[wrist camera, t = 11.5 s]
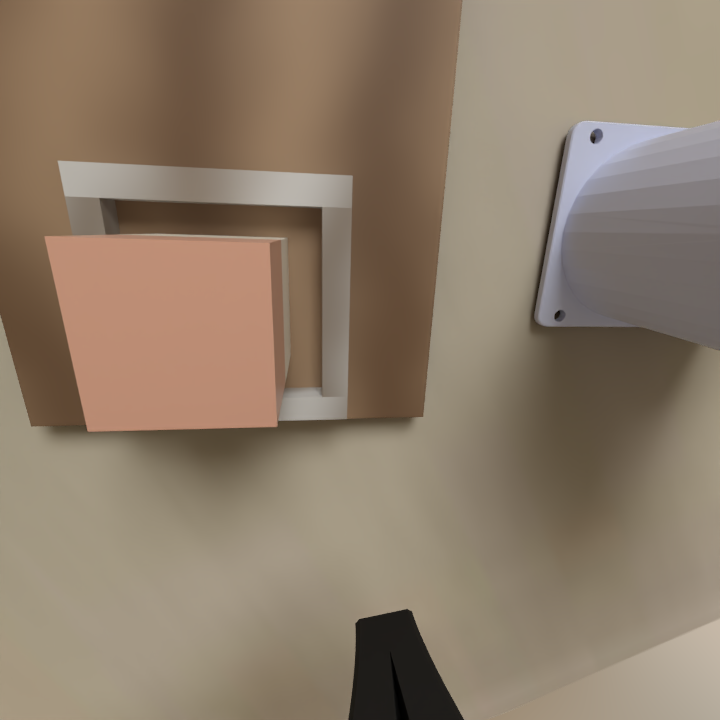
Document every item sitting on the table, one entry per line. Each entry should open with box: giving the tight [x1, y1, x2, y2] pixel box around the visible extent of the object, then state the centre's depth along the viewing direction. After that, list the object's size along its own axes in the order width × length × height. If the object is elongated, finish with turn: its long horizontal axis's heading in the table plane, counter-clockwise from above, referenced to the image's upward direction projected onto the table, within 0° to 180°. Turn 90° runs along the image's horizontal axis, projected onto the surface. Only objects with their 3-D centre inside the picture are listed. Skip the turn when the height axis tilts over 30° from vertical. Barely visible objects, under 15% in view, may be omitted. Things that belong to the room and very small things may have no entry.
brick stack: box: [44, 234, 291, 432], centre depth 12 cm, size 4×4×6 cm
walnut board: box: [0, 0, 462, 426], centre depth 12 cm, size 16×24×2 cm, turn 178°
